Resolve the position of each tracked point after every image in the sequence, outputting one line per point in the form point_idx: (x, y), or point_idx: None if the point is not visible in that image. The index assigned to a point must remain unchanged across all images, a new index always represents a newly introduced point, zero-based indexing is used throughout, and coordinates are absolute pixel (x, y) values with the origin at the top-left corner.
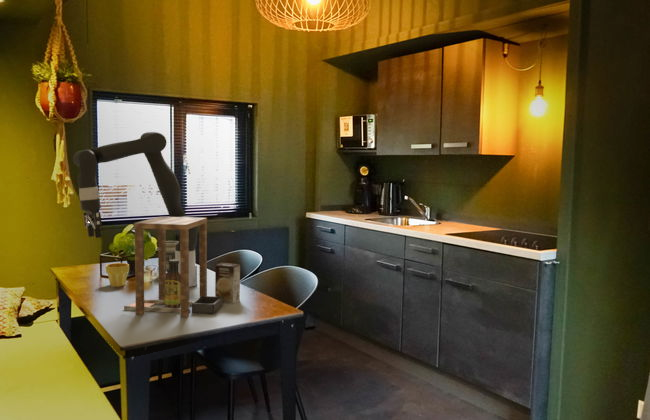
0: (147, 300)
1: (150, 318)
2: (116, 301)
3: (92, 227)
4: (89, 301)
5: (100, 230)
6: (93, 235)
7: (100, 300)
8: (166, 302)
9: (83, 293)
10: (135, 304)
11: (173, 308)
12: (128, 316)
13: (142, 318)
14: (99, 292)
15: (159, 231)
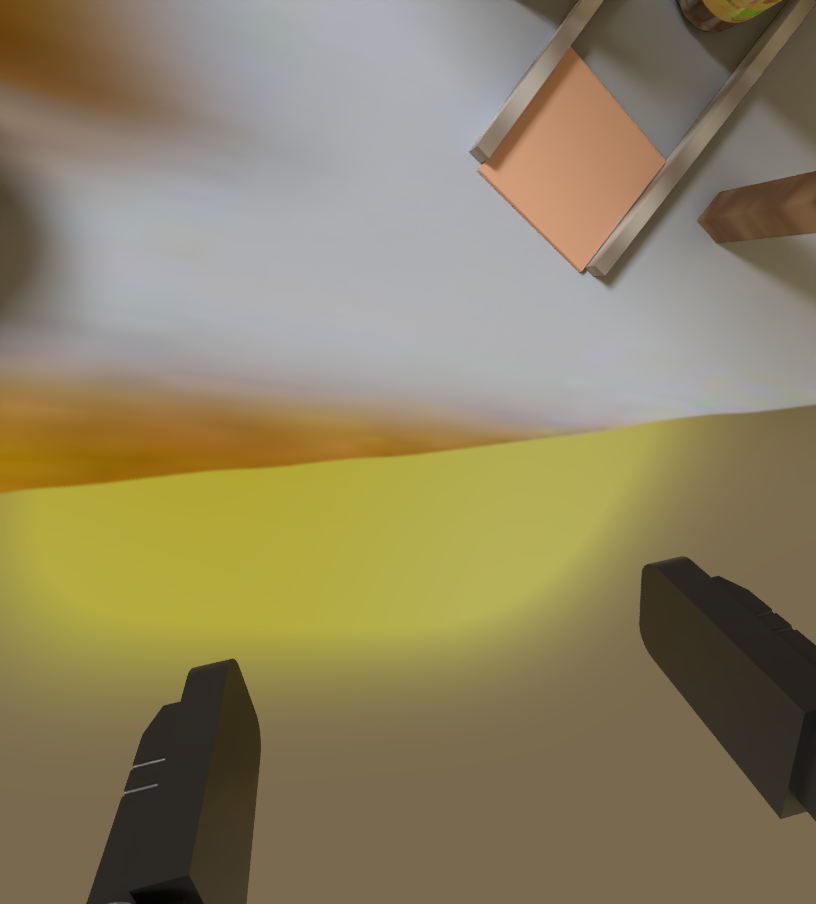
0: (538, 89)
1: None
2: (383, 273)
3: (132, 894)
4: (310, 424)
5: (795, 651)
6: (233, 673)
7: (313, 361)
8: (757, 14)
9: (55, 438)
10: (539, 185)
11: (807, 8)
12: (713, 283)
13: None
14: (58, 331)
15: None
